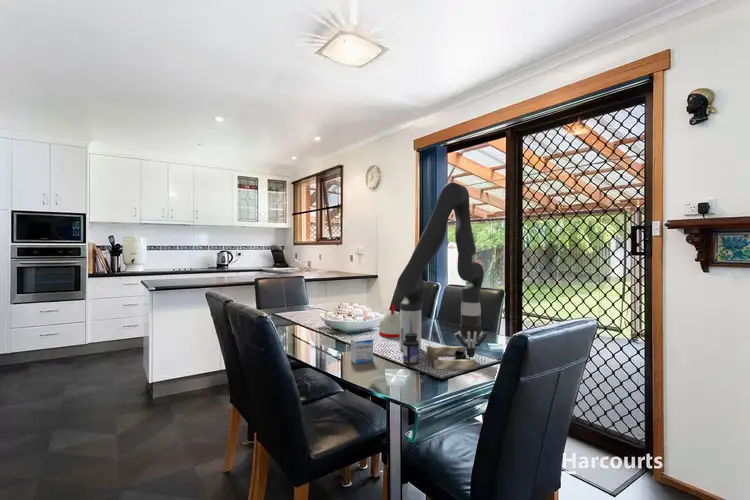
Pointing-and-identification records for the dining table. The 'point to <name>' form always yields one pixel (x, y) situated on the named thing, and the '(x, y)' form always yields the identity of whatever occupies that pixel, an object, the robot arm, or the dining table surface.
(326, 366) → the dining table surface
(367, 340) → the medicine box
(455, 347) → the frame
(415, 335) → the pill bottle
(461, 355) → the black angular block
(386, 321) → the kitchen timer
